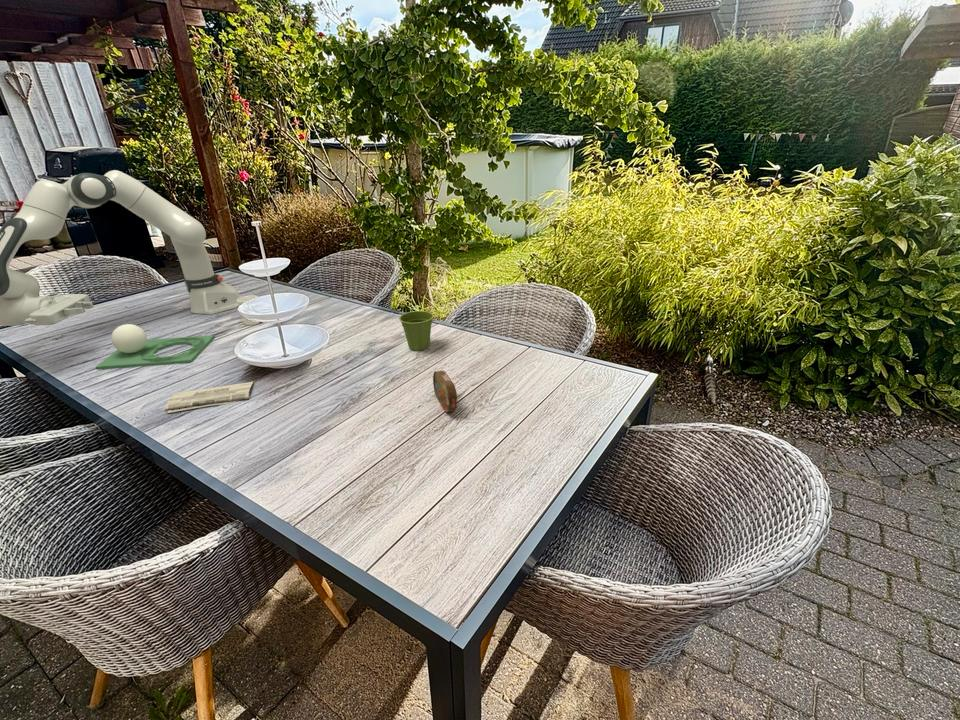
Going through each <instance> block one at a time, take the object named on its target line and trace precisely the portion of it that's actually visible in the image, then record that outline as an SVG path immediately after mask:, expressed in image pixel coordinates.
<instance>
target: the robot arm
mask: <svg viewBox="0 0 960 720" xmlns="http://www.w3.org/2000/svg"><path fill="white" fill-rule="evenodd" d="M27 193H28V194H27V195H26V196H25V198H24V201H23V203H22V205H21V207H20V210H19V211H18V213H17V214H16V215H15V216H14V217H12V218H9V219H8V220H6V221H5V222H4V224H2V226H1V228H0V326H5V327H7V326H9V327H10V326H12V327H16V326H17V327H18V326H25V325H34V326H53V325H56V324H58V323H60V322H62V321H63V320H66V319H67V318H69V317H70V316H75V315H80V314H84V313H85V312H86V310H91V309H92V308H94V304H93V302H91V300H90V297H89V295H87V294H86V293H85V294H84V293H69V294H68V293H67V294H62V293H60V292H59V293H58V292H57V293H56V292H55V293H52V294H49V295H45V296H44V295H43V296H40V289H41V288H40V283H39V281H38V280H37V278H35V277H34V276H33V275H31V274H28V273H25V272H22V271H19V270H15V269H12V268H10V263H11V262H12V260H13V258H14V257H15V255H16V253H17V252H18V250H19V248H20V247H21V246H22V244H24V243H26V242H28V241H32V240H35V241H36V240H41V241H42V240H49V239H52V238H54V237H57V236H58V235H59V234H60V232H61V231H62V230H63V227H64V224H65V222H66V218H67V216H68V213H69V211H70V210H71V208H77V209H83V210H84V209H85V210H87V209H88V210H90V209H95V208H98V207H101V206H102V205H103V204H106V203H107V202H108V201H113V202H115V203H117V204H119V205H121V206H122V207H124V208H125V209H127V210H128V211H130V212H131V213H133V214H135V215H136V216H137V217H139V218H141V219H143V220H144V221H146V222H147V223H149V224H150V225H152V226H154V227H155V228H156V229H158V230H160V231H161V232H163V233H165V234H166V235H167V236H169V238H170V241H171V244H172V245H173V247H174V251H175V253H176V255H177V258H178V260H179V263H180V267H181V270H182V274H183V276H184V279H183V280H184V284H185V288H186V290H187V292H188V294H189V295H188V296H189V303H190V312H191V313H192V314H200V315H201V314H207V315H214V314H217V313H221V312H225V311H229V310H233V309H236V308H238V307H237V306H238V303H237V299H238V298H240V297H244V296H243V295H240V292H239V290H238V289H237V288H236V287H235V286H232V285H230V284H228V283H226V282H223V281H224V278H223V276H222V275H220V274H218V273H215V272H214V268H213V265H212V262H211V259H210V258H211V257H210V255H209V253H208V251H207V249H206V246H205V244H204V242H205V240H206V237H207V233H206V229H205V227H204V226H203V224H202V223H201V222H200V221H199V220H197V219H195V218H194V217H193V216H191V215H190V214H188V213H187V212H185V211H184V210H182V209H181V208H180V207H178V206H177V205H174V204H173V203H171V202H170V201H169V200H167V199H166V198H164V197H162V196H161V195H160V194H158V193H157V192H155V191H154V190H153V189H151V188H149V187H148V186H147V185H145V184H144V183H142V182H141V181H139V180H137V178H134V177H133V176H130V175H129V174H127V173H124V172H123V171H120V170H117V169H113V170H109V171H107V172H105V173H104V175H101V174H96V173H93V172H91V173H90V172H81V173H79V174H75V175H73V176H71V177H70V178H69V179H68V180H66V181H64V182H63V183H58V182H56V181H55V180H54V181H53V180H48V179H41V180H37V181H36V182H35V183H34V184H33V186H32V187H31V188H30V190H29V191H28V192H27Z"/></svg>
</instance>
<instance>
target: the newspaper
mask: <svg viewBox="0 0 960 720" xmlns="http://www.w3.org/2000/svg"><path fill="white" fill-rule="evenodd" d="M254 383H255V381H248V382H241V383H234V384H227V385H221V386H219V385H218V386H213V387H207V388H206V387H205V388H199V389H191V390H186V391H178V392H175V393H173V395H172V396H171V397H170V398H169V399H168V400H167V402H166V404H165V405H164V411H166V413H167V414H169V413H175V412H180V411H186V410H192V409H193V410H194V409H199V408H204V407H210V406H221V405H229V404H233V403H237V402H239V401H240V402H241V401H242V400H248V399H250V395H251V393H250V391H251V387H252V386H253V384H254ZM198 405H199V406H198ZM185 407H186V408H185ZM179 408H180V409H179ZM173 409H174V410H173Z"/></svg>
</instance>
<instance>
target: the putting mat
mask: <svg viewBox="0 0 960 720" xmlns="http://www.w3.org/2000/svg"><path fill="white" fill-rule="evenodd" d="M215 338H216V337H215V335H214V334H213V335H211V334H210V335H209V334H208V335H197V336H196V335H195V336H183V337H182V336H181V337H168V338H167V337H166V338H154V339H153V338H152V339H147V342H146V345H145V346H144V347H143V349H141V350H140V351H138V352H135V353H124V352H121V351H119V350H117V349H116V351H114V352H112V354H110V355H109V356H108V357H107V358H104V360H103V361H101V362H100V363H99V364H97V365H95V369H98V370H108V369H109V370H110V369H123V368H137V367H152V366H162V365H163V366H164V365H166V364H167V365H176V364H175V363H181V364H191V362H192V361H193V360H194V359H195V358H196V359H197V357H198V356H200V354H201V353H202V352H203V351H204V350H205V349H206V348H207V347H208V346H209V345H210V344H211V342H213V340H215ZM178 345H179V346H180V345H189V346H191V348H189V349H188V350H186V351H184V352H181V353H177V354H173V355H168V356H165V355H164V356H159V355H156V354H157V353H158V352H159V350H160V351H162V350H164V349H166V348H169V347H174V346H178ZM154 354H155V355H154ZM196 359H195V360H196ZM195 360H194V361H195ZM192 363H193V362H192Z"/></svg>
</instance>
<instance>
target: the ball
mask: <svg viewBox="0 0 960 720" xmlns="http://www.w3.org/2000/svg"><path fill="white" fill-rule="evenodd" d="M110 338H111V339H110V340H111V343H112V345H113V347H114V348H115V349H116V351H117V350H119V351H121V352H124V353H135V352H138V351H140V350H141V349H143V347H144V346H145V345H146V342H147V340H148V337H147V334H146V332H145V331H144V329H143V328H141V327H140V326H139V325H135V324H132V323H129V324H128V323H127V324H121V325H119V326H117V327H116V328H115V329H114V330H113V331H112V333H111V336H110Z"/></svg>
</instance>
